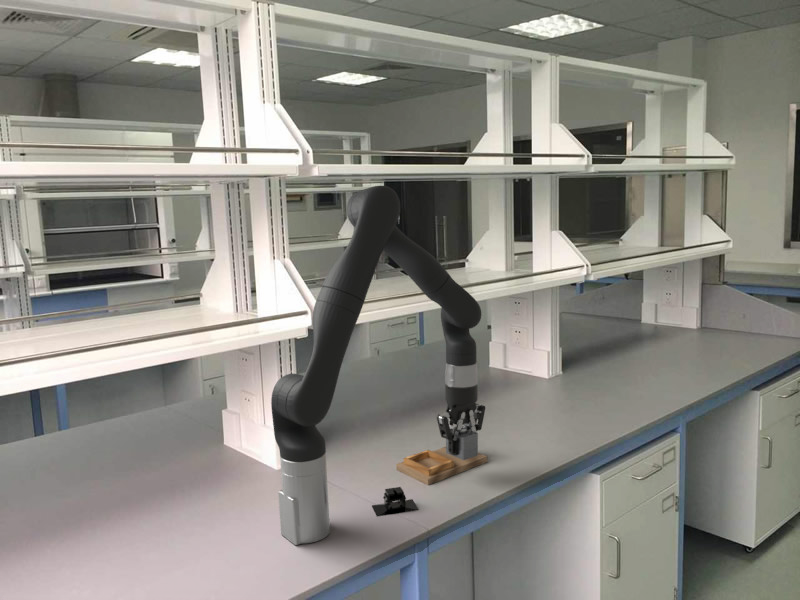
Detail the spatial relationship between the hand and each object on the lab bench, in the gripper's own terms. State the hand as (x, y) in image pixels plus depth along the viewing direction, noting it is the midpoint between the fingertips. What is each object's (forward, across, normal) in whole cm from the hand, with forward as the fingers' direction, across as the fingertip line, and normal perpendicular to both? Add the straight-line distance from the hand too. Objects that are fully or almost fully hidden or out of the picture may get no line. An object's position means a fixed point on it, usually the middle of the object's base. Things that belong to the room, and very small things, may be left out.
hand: (461, 451), depth 156 cm
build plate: (+9, +19, -1) cm, 21 cm away
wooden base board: (+8, -3, -11) cm, 14 cm away
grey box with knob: (+1, 0, 0) cm, 1 cm away
